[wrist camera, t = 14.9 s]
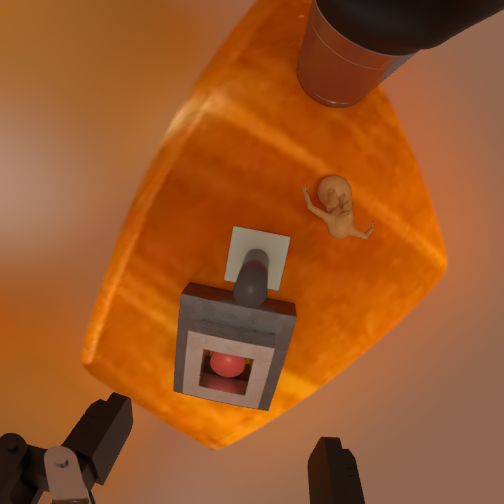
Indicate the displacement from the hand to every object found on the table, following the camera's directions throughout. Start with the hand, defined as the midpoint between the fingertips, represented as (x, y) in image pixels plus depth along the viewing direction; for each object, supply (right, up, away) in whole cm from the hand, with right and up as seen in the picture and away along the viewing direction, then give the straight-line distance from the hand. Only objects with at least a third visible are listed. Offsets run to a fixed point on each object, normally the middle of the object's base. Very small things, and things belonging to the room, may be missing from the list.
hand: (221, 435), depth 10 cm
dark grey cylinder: (+2, +6, +26) cm, 27 cm away
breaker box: (-2, -6, +30) cm, 31 cm away
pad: (+2, +7, +27) cm, 28 cm away
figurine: (+10, +14, +25) cm, 30 cm away
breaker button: (-2, -6, +30) cm, 30 cm away
